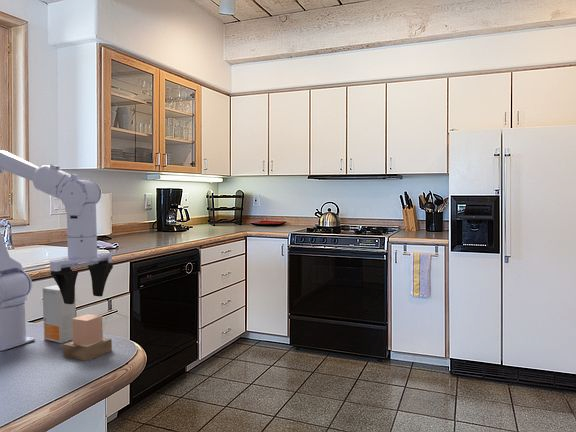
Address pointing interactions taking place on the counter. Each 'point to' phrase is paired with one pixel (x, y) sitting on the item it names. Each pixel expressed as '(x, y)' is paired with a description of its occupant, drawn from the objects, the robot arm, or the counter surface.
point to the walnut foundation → (87, 349)
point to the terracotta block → (87, 329)
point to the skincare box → (57, 315)
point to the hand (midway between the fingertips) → (84, 299)
